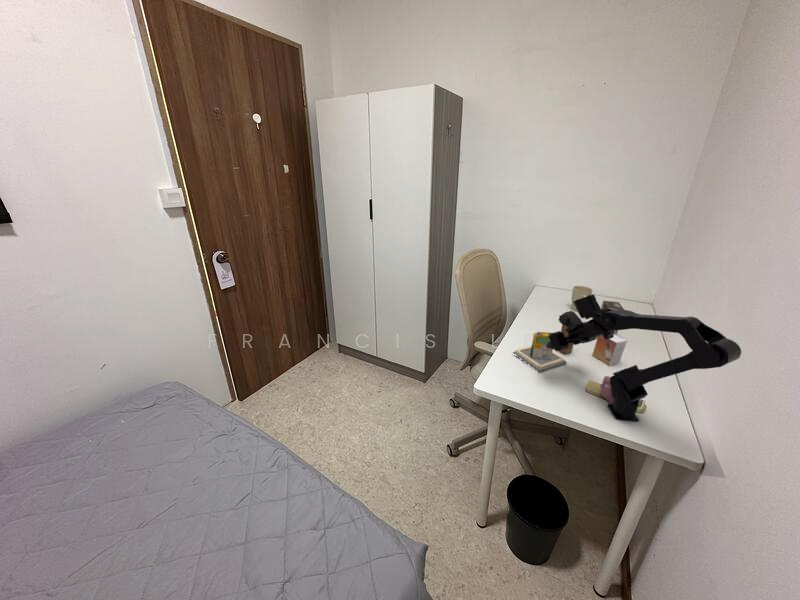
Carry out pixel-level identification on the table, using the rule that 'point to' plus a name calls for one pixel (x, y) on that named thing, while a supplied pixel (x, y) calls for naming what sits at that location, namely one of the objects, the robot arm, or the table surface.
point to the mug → (580, 294)
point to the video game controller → (607, 389)
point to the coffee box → (611, 306)
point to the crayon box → (541, 346)
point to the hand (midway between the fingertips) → (555, 344)
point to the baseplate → (540, 360)
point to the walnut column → (570, 346)
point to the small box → (609, 349)
